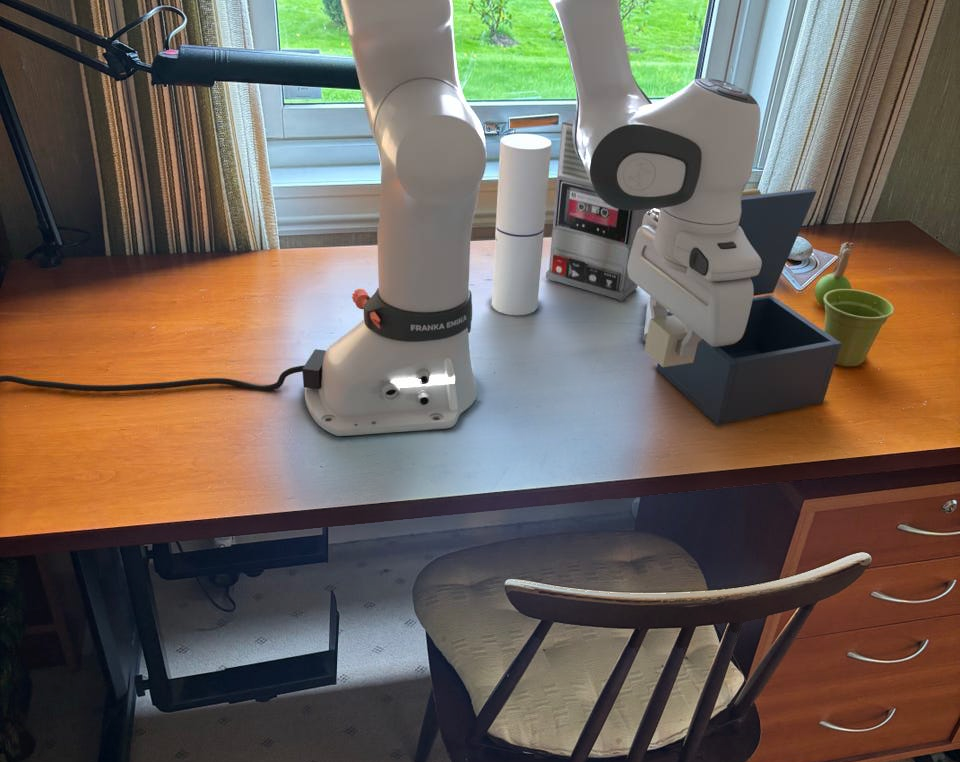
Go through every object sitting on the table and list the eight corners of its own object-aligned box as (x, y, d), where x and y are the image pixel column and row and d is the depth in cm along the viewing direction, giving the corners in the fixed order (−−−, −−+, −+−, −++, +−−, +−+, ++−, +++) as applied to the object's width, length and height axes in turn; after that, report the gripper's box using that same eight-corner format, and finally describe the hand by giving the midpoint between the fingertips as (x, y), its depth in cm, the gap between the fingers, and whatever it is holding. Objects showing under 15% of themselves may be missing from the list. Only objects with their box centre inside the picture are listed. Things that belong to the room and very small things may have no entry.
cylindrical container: (506, 318, 138) (516, 151, 123) (483, 299, 143) (491, 136, 128) (546, 310, 141) (561, 145, 126) (522, 291, 146) (534, 131, 131)
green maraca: (810, 313, 144) (831, 240, 137) (810, 296, 149) (830, 225, 142) (846, 318, 143) (868, 246, 136) (845, 302, 148) (867, 230, 141)
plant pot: (800, 340, 137) (815, 287, 131) (862, 342, 137) (879, 289, 132) (819, 372, 129) (836, 316, 124) (885, 374, 129) (904, 319, 124)
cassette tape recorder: (544, 280, 150) (558, 123, 135) (561, 268, 154) (577, 114, 139) (621, 302, 144) (644, 141, 129) (637, 289, 149) (661, 131, 134)
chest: (823, 402, 122) (841, 343, 117) (716, 425, 117) (731, 363, 112) (756, 350, 133) (770, 294, 128) (656, 369, 128) (666, 310, 123)
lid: (816, 191, 116) (794, 171, 119) (703, 204, 110) (683, 182, 113) (773, 293, 128) (753, 272, 131) (668, 309, 122) (651, 287, 125)
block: (662, 367, 110) (669, 334, 107) (644, 350, 113) (650, 318, 111) (693, 362, 111) (700, 330, 109) (674, 345, 115) (681, 314, 112)
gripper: (625, 204, 109) (607, 309, 118) (723, 274, 95) (695, 388, 103) (669, 201, 112) (649, 304, 120) (772, 268, 97) (741, 381, 105)
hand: (671, 344), depth 111 cm, fingers closed on block, 4 cm apart
